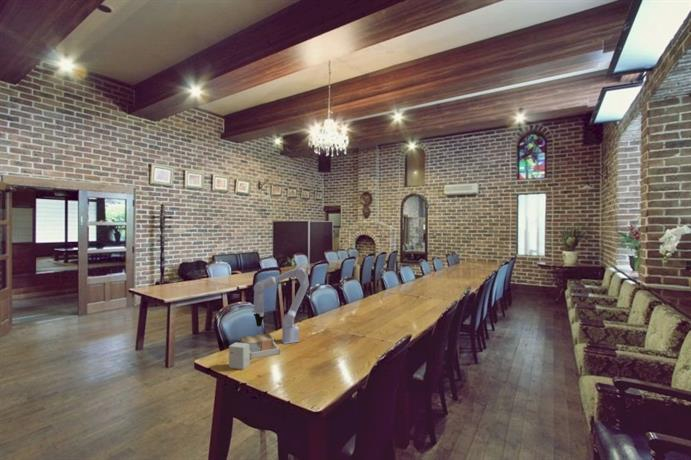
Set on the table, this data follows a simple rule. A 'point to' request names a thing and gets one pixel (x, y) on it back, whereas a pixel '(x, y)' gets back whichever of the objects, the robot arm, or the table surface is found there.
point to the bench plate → (256, 339)
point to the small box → (239, 355)
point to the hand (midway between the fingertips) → (258, 326)
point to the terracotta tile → (266, 344)
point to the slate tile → (254, 348)
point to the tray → (266, 352)
